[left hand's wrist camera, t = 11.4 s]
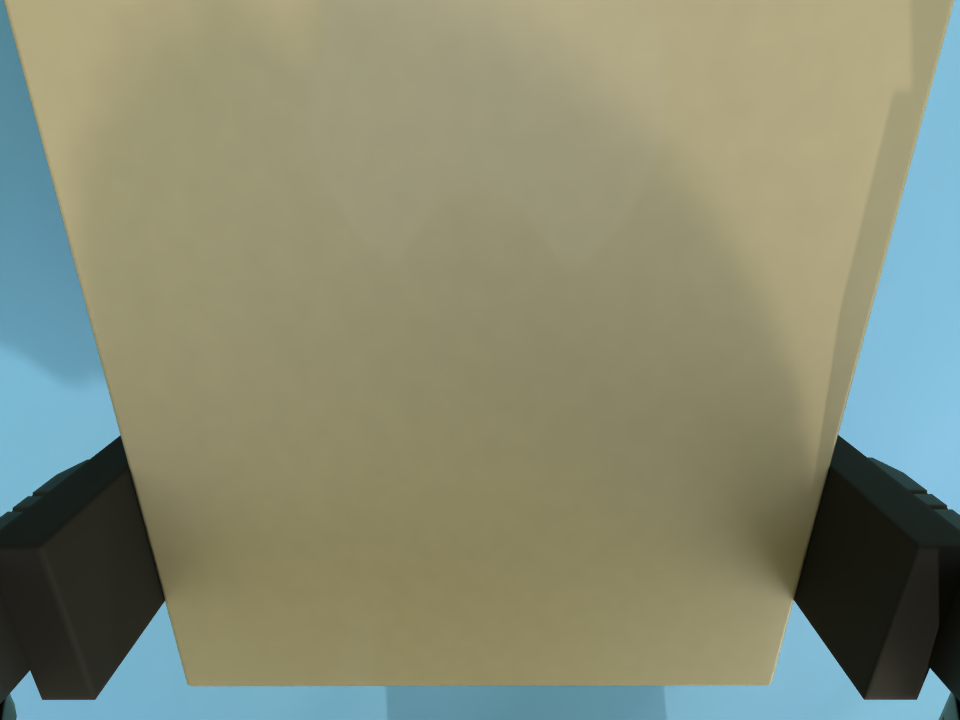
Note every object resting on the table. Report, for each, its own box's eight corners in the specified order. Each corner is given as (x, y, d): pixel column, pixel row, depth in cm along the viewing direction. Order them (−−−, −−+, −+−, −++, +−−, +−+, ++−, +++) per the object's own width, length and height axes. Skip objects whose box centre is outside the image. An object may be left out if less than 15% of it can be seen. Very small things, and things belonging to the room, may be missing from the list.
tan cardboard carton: (240, -346, 12) (-537, -1979, 3) (717, -345, 12) (1489, -1963, 3) (327, 430, 19) (185, 688, 10) (630, 430, 19) (772, 687, 10)
